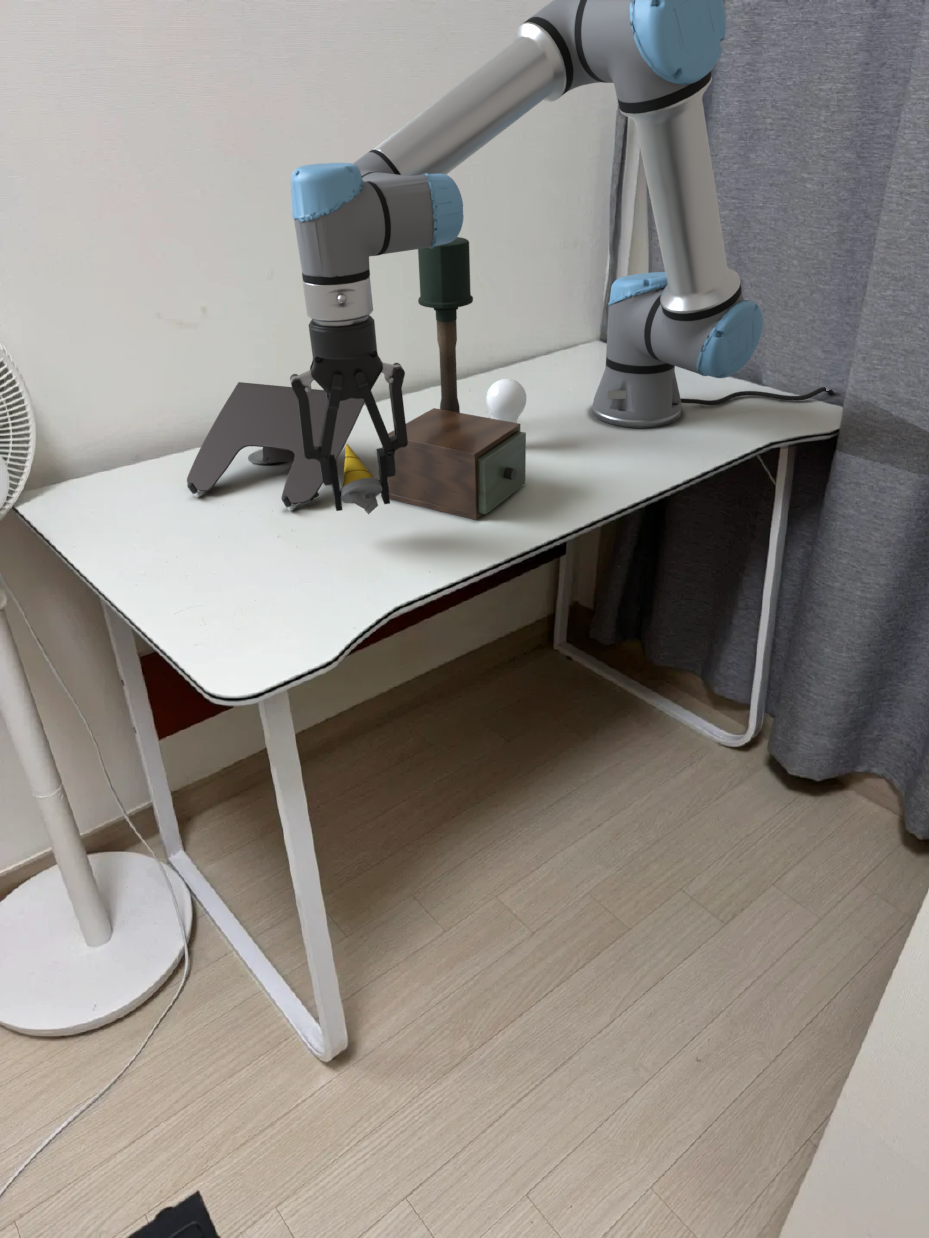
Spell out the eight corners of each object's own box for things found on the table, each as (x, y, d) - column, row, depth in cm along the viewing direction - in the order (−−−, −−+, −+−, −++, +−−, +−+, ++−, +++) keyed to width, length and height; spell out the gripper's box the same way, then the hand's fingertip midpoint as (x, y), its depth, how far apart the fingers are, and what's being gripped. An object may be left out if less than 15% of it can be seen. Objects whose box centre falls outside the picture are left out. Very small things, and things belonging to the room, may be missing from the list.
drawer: (532, 485, 124) (533, 434, 120) (493, 516, 116) (493, 462, 112) (447, 467, 131) (445, 417, 126) (404, 494, 123) (400, 443, 118)
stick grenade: (477, 421, 150) (473, 235, 133) (473, 439, 142) (468, 245, 126) (429, 421, 150) (419, 236, 134) (422, 439, 143) (411, 246, 127)
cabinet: (520, 486, 126) (520, 423, 121) (476, 520, 117) (474, 454, 112) (436, 468, 133) (433, 407, 127) (389, 499, 124) (384, 435, 119)
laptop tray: (194, 522, 132) (166, 483, 125) (255, 413, 143) (232, 371, 135) (327, 542, 125) (306, 503, 118) (380, 427, 136) (364, 383, 128)
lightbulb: (505, 436, 143) (505, 370, 137) (533, 445, 139) (535, 378, 133) (478, 447, 140) (477, 380, 134) (507, 457, 136) (507, 388, 130)
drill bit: (339, 522, 108) (318, 451, 110) (369, 524, 112) (348, 456, 114) (367, 503, 104) (344, 430, 106) (397, 506, 109) (375, 436, 111)
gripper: (260, 334, 93) (292, 525, 106) (426, 317, 96) (438, 505, 109) (257, 317, 99) (287, 500, 112) (414, 302, 102) (426, 482, 115)
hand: (361, 502), depth 110 cm, fingers closed on drill bit, 5 cm apart
